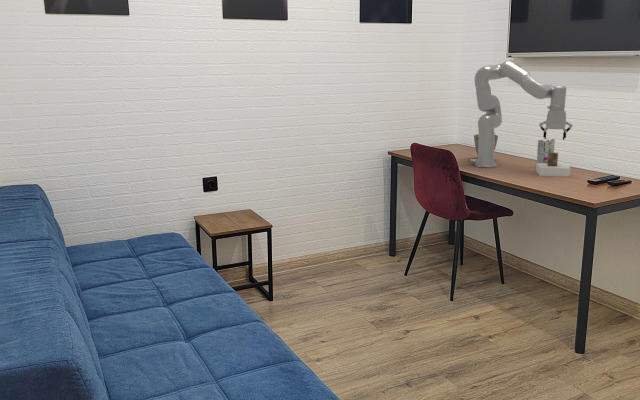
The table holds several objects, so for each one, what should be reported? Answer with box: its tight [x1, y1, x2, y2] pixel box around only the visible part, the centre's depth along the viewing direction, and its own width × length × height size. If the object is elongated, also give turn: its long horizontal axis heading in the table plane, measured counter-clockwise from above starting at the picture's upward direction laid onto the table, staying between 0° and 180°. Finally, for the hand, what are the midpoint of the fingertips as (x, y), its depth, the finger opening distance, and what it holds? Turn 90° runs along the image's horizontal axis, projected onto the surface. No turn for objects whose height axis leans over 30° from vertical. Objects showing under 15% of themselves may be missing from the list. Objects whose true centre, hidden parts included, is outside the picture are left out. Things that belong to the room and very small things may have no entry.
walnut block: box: [547, 152, 559, 166], centre depth 330 cm, size 5×5×7 cm
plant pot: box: [473, 133, 499, 157], centre depth 375 cm, size 15×15×16 cm
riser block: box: [535, 162, 572, 177], centre depth 331 cm, size 16×14×5 cm
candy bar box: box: [536, 138, 556, 164], centre depth 349 cm, size 11×5×16 cm, turn 129°
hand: (554, 139), depth 327 cm, fingers open, 9 cm apart
